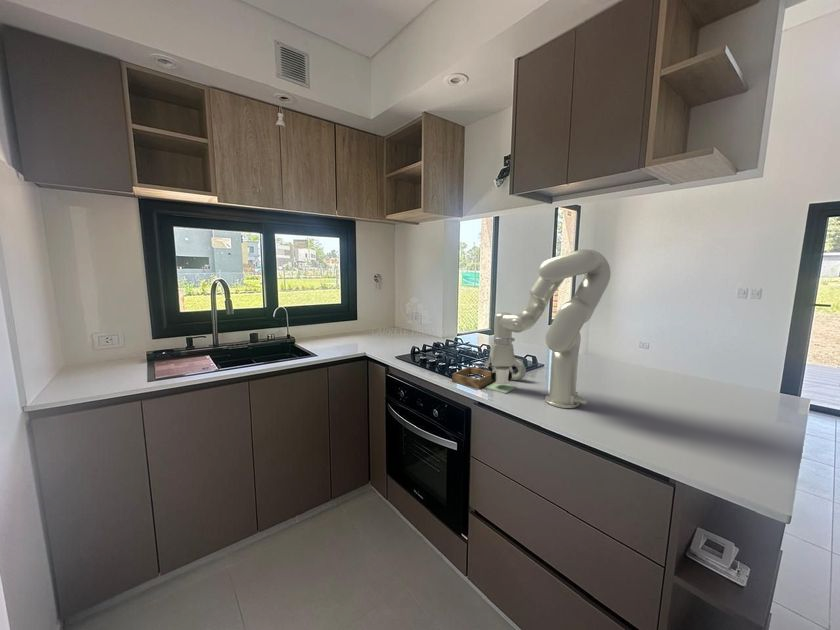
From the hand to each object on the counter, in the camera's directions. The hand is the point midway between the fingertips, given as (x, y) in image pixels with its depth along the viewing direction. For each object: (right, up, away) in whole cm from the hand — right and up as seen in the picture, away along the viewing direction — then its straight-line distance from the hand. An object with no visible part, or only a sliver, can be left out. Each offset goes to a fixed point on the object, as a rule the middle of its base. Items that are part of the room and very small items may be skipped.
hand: (501, 380), depth 150 cm
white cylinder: (0, -1, 0) cm, 1 cm away
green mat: (0, -4, 0) cm, 4 cm away
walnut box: (-11, -2, +10) cm, 14 cm away
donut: (+9, -2, +11) cm, 15 cm away
